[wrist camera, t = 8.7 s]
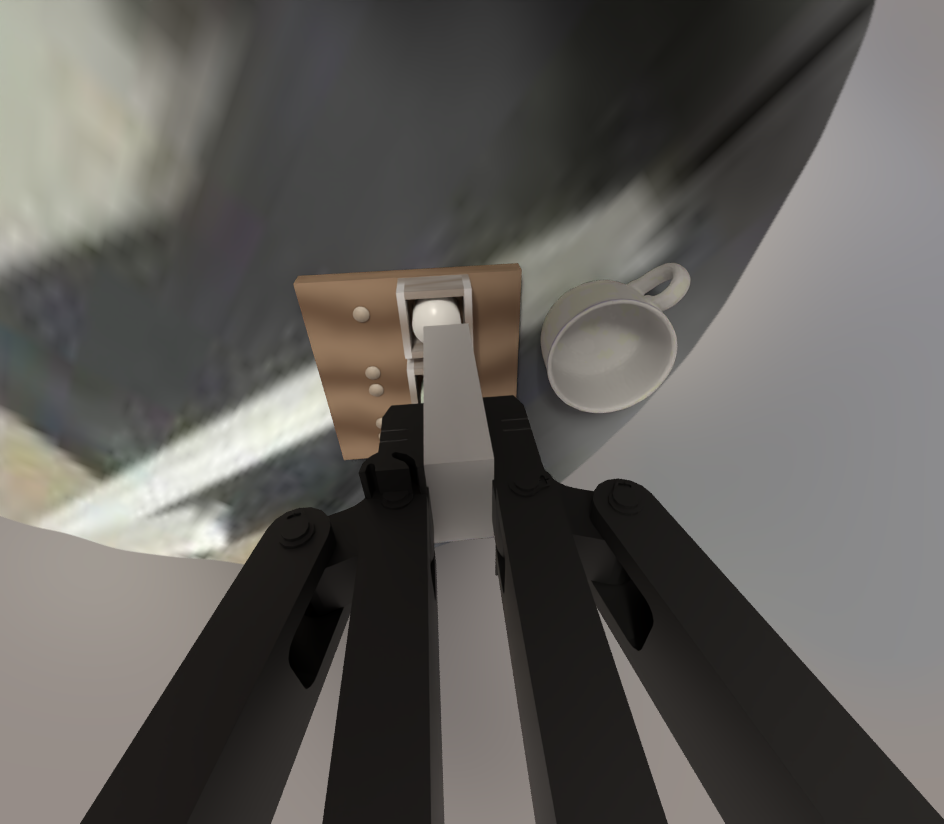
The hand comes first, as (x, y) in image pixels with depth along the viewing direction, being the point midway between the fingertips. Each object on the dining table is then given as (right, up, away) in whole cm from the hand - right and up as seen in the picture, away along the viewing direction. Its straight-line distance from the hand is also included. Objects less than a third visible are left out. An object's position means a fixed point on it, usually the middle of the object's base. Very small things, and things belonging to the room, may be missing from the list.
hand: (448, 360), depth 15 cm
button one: (-2, +7, +23) cm, 24 cm away
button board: (-4, +3, +28) cm, 29 cm away
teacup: (+13, +8, +26) cm, 31 cm away
